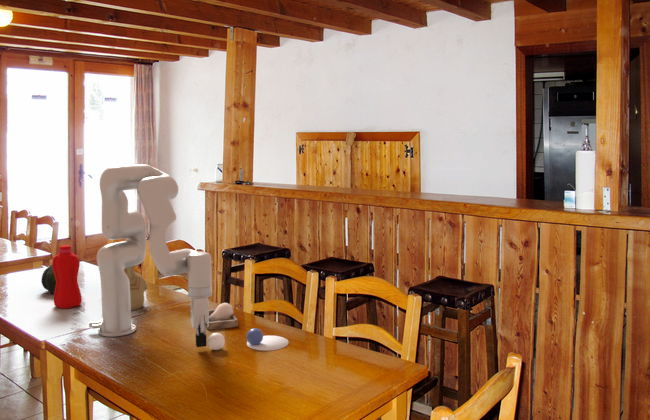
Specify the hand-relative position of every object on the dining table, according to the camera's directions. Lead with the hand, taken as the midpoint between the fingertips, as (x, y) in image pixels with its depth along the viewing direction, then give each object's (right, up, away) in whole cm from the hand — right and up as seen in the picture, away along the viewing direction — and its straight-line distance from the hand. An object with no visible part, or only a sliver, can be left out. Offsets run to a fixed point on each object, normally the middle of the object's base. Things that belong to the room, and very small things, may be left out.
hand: (201, 345), depth 191 cm
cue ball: (+5, +1, +1) cm, 5 cm away
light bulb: (+1, +2, +30) cm, 30 cm away
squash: (-78, +8, +72) cm, 106 cm away
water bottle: (-65, +5, +50) cm, 82 cm away
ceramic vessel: (-40, +4, +48) cm, 62 cm away
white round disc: (+21, -1, +7) cm, 22 cm away
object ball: (+17, +2, +5) cm, 18 cm away
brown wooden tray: (+1, +2, +30) cm, 30 cm away
